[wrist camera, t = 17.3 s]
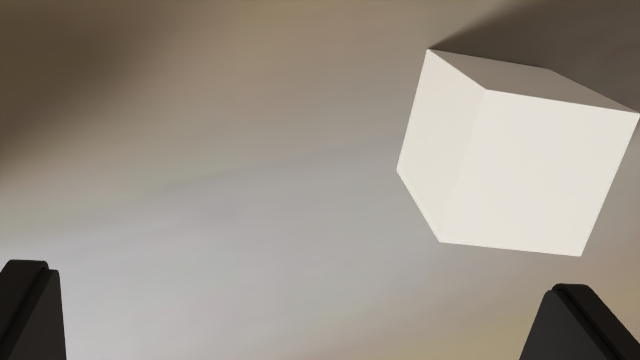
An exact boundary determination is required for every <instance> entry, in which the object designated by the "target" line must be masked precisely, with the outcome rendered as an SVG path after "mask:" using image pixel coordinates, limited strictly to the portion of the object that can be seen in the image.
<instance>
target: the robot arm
mask: <svg viewBox="0 0 640 360" xmlns="http://www.w3.org/2000/svg"><path fill="white" fill-rule="evenodd" d="M0 360H66V348H65V336H64V324H63V312H62V300H61V288H60V276H59V272H58V270H51V269H49V267H48V264H47V262H46V261H35V260H13V259H12V260H9V261H8V262H7V263H6V265H5V266H4V268H3V269H2V271H1V272H0ZM519 360H640V344H639V343H638V341H637V340H636V339H635V338H634V337H633V336H632V335H631V333H630V332H629V331H628V330H627V329H626V328H625V327H624V325H623V324H622V323H621V322H620V321H619V320H618V319H617V317H616V316H615V315H614V314H613V313H612V312H611V311H610V309H609V308H608V307H607V306H606V305H605V304H604V303H603V301H602V300H601V299H600V298H599V297H598V296H597V295H596V293H595V292H594V291H593V290H592V289H591V288H590V287H589V286H587V285H584V284H562V283H560V284H556V285H555V286H554V287H553V288H552V290H549V291H547V292H546V293H545V295H544V297H543V299H542V302H541V304H540V307H539V310H538V312H537V315H536V317H535V320H534V323H533V325H532V328H531V330H530V333H529V335H528V338H527V341H526V343H525V346H524V348H523V351H522V354H521V356H520V359H519Z"/></svg>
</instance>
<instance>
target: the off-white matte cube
mask: <svg viewBox="0 0 640 360" xmlns="http://www.w3.org/2000/svg"><path fill="white" fill-rule="evenodd" d="M639 118H640V113H638V112H636V111H634V110H632V109H630V108H628V107H626V106H624V105H622V104H620V103H618V102H616V101H613V100H611V99H609V98H607V97H605V96H603V95H601V94H599V93H597V92H595V91H593V90H591V89H589V88H587V87H585V86H582V85H580V84H578V83H576V82H574V81H572V80H570V79H568V78H566V77H564V76H562V75H560V74H558V73H556V72H554V71H551V70H549V69H546V68H540V67H534V66H528V65H522V64H516V63H510V62H504V61H498V60H492V59H486V58H480V57H474V56H468V55H462V54H456V53H450V52H444V51H438V50H432V49H427V52H426V56H425V60H424V64H423V68H422V72H421V76H420V80H419V84H418V87H417V91H416V95H415V99H414V103H413V107H412V111H411V115H410V119H409V123H408V127H407V131H406V134H405V138H404V142H403V146H402V150H401V154H400V158H399V162H398V166H397V172H398V174H399V175H400V177H401V179H402V180H403V182H404V184H405V185H406V187H407V189H408V190H409V192H410V194H411V195H412V197H413V199H414V200H415V202H416V204H417V205H418V207H419V209H420V210H421V212H422V214H423V215H424V217H425V219H426V220H427V222H428V224H429V225H430V227H431V229H432V231H433V232H434V234H435V236H436V237H437V239H438V241H439V242H445V243H455V244H465V245H474V246H484V247H494V248H503V249H513V250H523V251H532V252H542V253H552V254H561V255H571V256H581V254H582V252H583V249H584V247H585V245H586V242H587V240H588V238H589V235H590V233H591V230H592V228H593V226H594V223H595V221H596V219H597V216H598V214H599V212H600V209H601V207H602V205H603V202H604V200H605V198H606V195H607V193H608V190H609V188H610V186H611V183H612V181H613V179H614V176H615V174H616V172H617V169H618V167H619V165H620V162H621V160H622V158H623V155H624V153H625V150H626V148H627V146H628V143H629V141H630V139H631V136H632V134H633V132H634V129H635V127H636V125H637V122H638V120H639Z"/></svg>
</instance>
